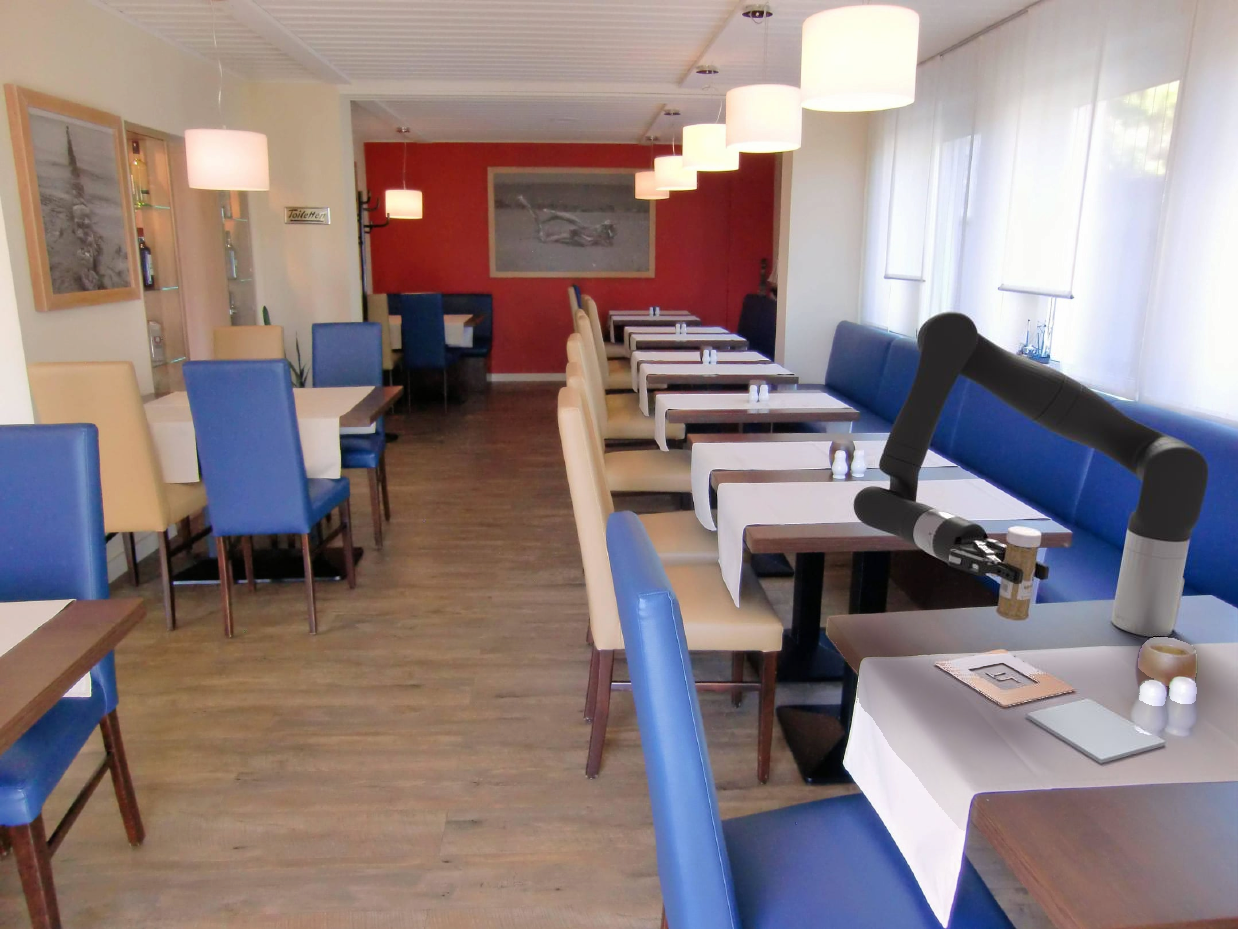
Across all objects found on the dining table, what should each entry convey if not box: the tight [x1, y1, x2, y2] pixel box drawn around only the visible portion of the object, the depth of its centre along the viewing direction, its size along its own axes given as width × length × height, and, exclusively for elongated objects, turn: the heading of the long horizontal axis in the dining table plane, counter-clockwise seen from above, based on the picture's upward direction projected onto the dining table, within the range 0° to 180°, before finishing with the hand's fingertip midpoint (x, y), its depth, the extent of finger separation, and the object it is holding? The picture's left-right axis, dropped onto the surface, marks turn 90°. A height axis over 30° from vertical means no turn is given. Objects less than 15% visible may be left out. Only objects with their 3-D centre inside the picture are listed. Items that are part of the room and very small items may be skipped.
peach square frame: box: [936, 648, 1076, 708], centre depth 135 cm, size 14×14×1 cm
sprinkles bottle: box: [995, 525, 1042, 622], centre depth 131 cm, size 5×5×14 cm
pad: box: [1025, 698, 1166, 765], centre depth 120 cm, size 12×12×1 cm
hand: (1033, 575), depth 128 cm, fingers closed on sprinkles bottle, 4 cm apart
